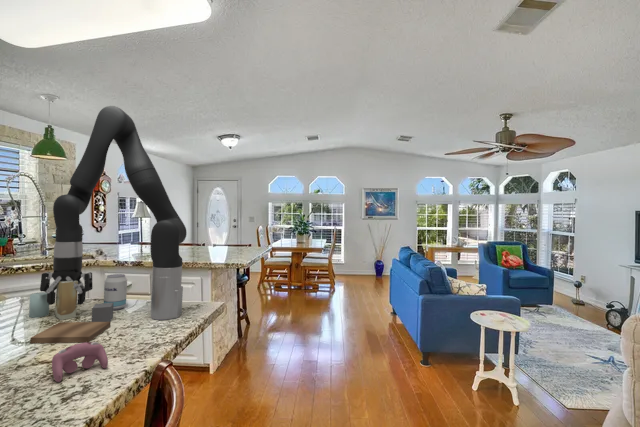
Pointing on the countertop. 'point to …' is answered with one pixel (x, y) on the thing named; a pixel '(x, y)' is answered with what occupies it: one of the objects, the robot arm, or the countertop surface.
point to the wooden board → (71, 332)
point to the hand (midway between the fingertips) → (66, 304)
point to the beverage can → (115, 290)
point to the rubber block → (102, 312)
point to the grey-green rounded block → (38, 305)
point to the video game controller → (87, 349)
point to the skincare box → (66, 300)
